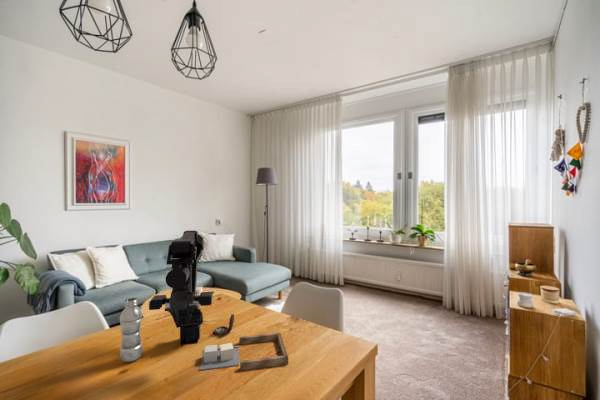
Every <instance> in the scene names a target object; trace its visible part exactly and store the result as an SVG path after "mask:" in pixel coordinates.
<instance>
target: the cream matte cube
mask: <svg viewBox="0 0 600 400" xmlns="http://www.w3.org/2000/svg"><path fill="white" fill-rule="evenodd" d="M218 348H219V345H218V344H212V345H211V344H210V345H205V347H204V349H205V351H204V363H208V362H216V361H217V356H218Z"/></svg>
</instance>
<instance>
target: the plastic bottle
mask: <svg viewBox="0 0 600 400" xmlns="http://www.w3.org/2000/svg"><path fill="white" fill-rule="evenodd" d="M123 306H124V307H125V308H124V309H123V310H122V312H121V314H120V316H119V324H120V329H121V345H120V350H119V357H120V361H122V362H124V363H130V362H133V361H136V360H138V359H139V358H140V357H141V356H142V355H143V349H144V347H143V343H142V337H141V336H142V335H141V325H142V318H143V311H142V310H141V308H140V307H138V298H137V297H131V298H127V299H125V301H124V305H123Z"/></svg>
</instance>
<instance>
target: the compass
mask: <svg viewBox="0 0 600 400" xmlns="http://www.w3.org/2000/svg"><path fill="white" fill-rule="evenodd" d="M229 317H230V318H229V322H228V327H227V326H226V325H225V326H223V325H222V326H218V327H216V328H215V329H214V330H213V334H214V335H215V336H225V335H228V334H229V333H230V331H232V330H233V326H234V323H235V315H234V313H230V316H229Z"/></svg>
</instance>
